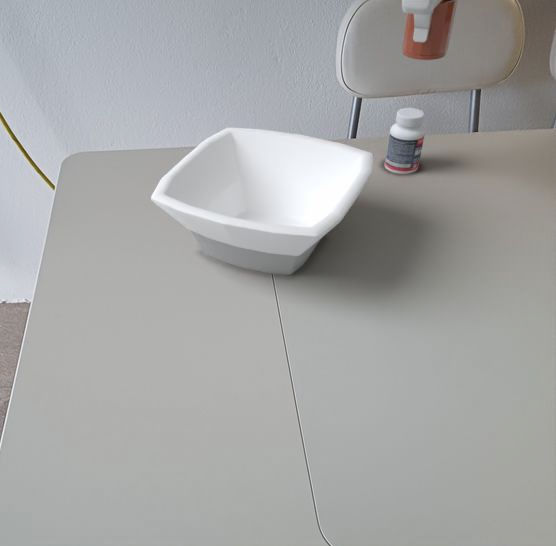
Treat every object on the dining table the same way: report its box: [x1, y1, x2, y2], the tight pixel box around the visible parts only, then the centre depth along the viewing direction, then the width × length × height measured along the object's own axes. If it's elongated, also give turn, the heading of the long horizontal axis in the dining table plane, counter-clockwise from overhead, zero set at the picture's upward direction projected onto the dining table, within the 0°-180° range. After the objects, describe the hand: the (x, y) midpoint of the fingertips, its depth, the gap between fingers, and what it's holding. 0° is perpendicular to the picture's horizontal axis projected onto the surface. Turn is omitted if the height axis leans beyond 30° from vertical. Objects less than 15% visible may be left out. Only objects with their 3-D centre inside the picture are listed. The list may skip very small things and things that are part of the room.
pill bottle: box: [384, 107, 426, 175], centre depth 100 cm, size 5×5×9 cm
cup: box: [401, 0, 459, 61], centre depth 87 cm, size 6×6×7 cm
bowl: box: [150, 127, 375, 276], centre depth 86 cm, size 24×25×10 cm
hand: (428, 32), depth 88 cm, fingers closed on cup, 6 cm apart
